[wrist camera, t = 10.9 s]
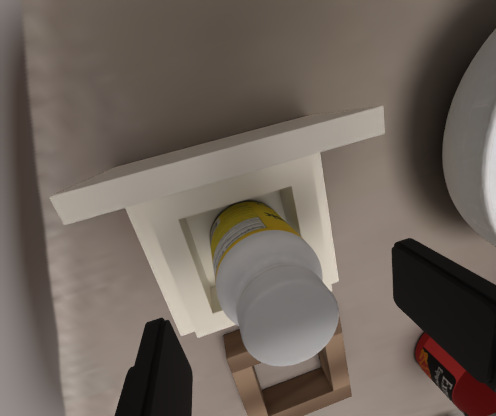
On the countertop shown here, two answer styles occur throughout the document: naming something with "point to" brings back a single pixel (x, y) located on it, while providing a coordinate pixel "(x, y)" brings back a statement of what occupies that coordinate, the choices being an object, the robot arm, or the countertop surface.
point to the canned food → (454, 379)
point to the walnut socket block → (290, 381)
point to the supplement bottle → (270, 284)
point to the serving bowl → (474, 143)
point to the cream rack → (221, 201)
